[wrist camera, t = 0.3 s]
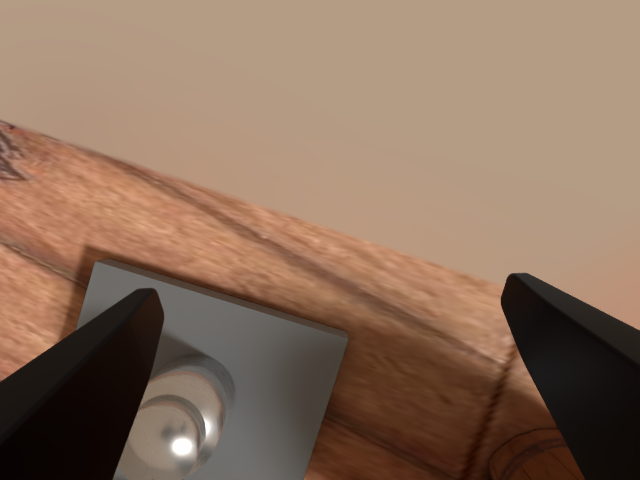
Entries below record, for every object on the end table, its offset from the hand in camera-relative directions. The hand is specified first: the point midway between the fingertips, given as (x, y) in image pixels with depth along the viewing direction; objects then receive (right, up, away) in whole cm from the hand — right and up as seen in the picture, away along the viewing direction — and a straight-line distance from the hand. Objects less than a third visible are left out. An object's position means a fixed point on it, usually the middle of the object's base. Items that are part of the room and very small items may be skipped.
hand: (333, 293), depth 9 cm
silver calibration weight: (-8, -8, +13) cm, 17 cm away
